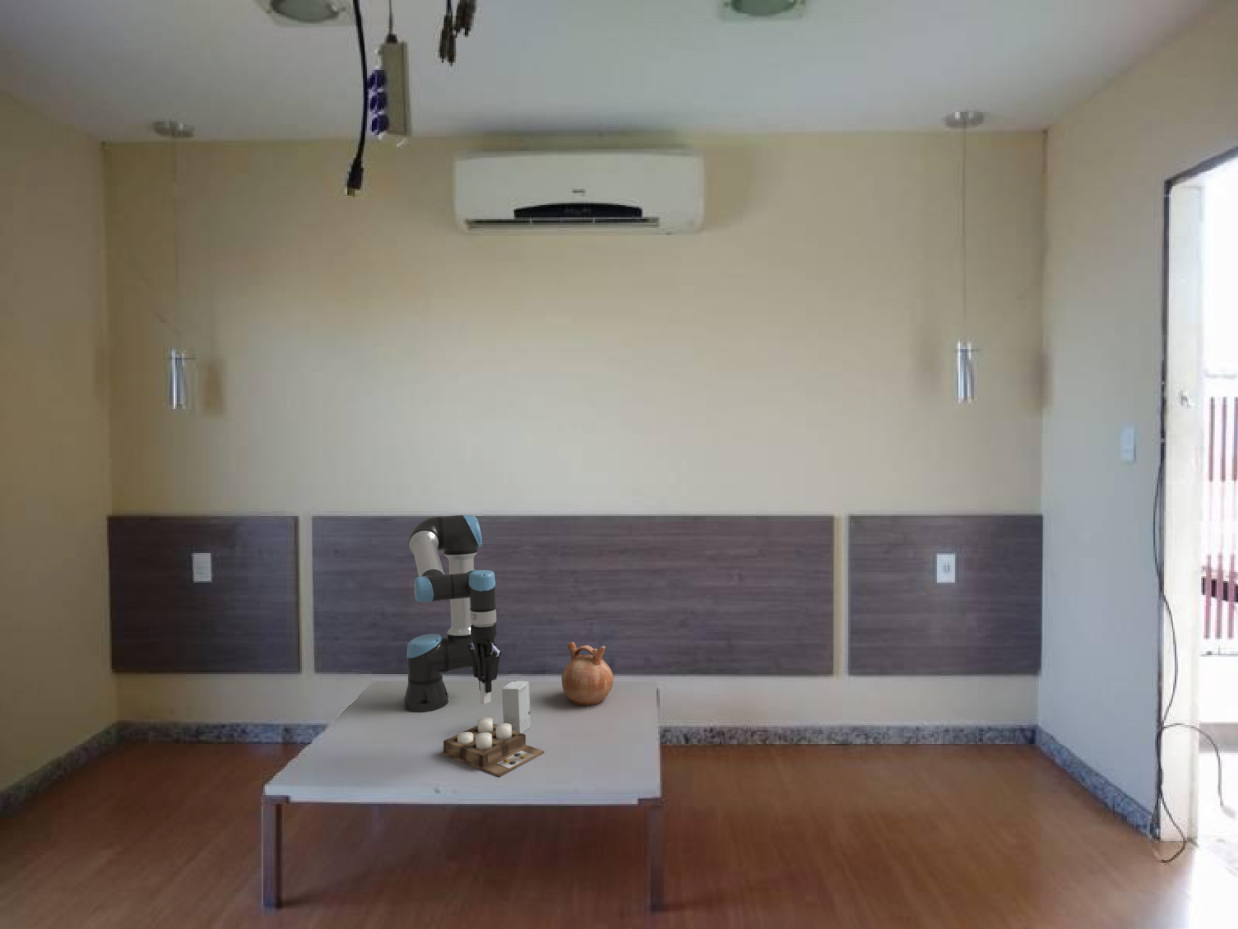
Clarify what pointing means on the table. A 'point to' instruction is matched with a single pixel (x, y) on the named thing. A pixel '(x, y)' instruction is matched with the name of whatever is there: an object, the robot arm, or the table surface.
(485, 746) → the button
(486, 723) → the button
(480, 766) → the board
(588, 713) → the table surface
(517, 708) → the skincare box
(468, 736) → the button
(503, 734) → the button
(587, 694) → the jug
